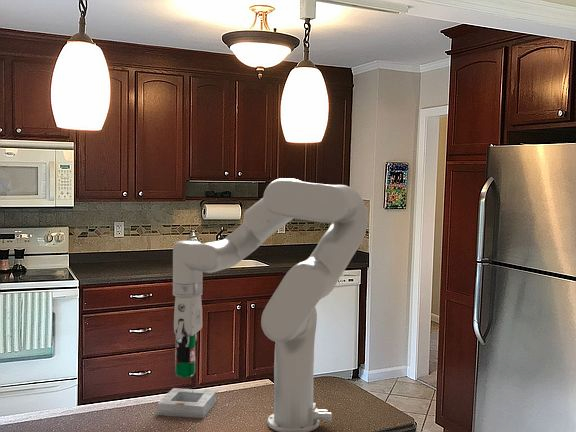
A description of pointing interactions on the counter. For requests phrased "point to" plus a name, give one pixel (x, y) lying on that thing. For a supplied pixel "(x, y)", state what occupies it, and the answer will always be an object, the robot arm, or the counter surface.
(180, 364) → the soda can
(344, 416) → the counter surface
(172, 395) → the plate
